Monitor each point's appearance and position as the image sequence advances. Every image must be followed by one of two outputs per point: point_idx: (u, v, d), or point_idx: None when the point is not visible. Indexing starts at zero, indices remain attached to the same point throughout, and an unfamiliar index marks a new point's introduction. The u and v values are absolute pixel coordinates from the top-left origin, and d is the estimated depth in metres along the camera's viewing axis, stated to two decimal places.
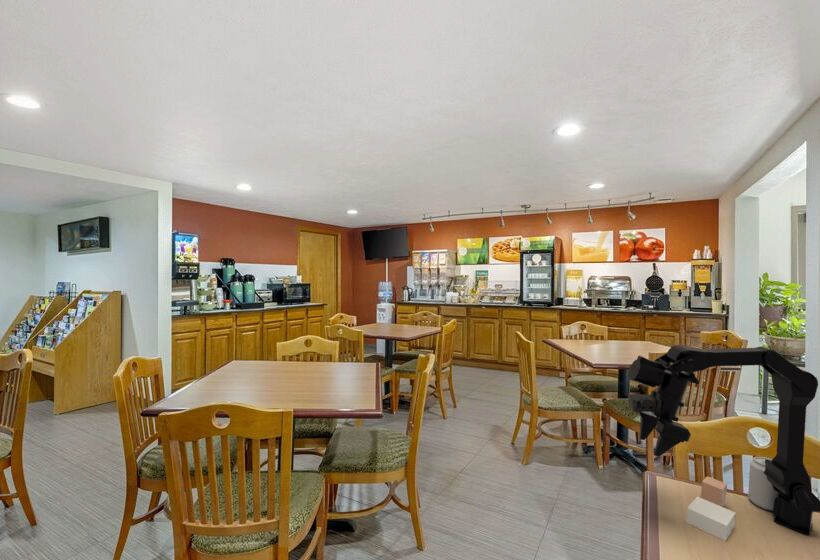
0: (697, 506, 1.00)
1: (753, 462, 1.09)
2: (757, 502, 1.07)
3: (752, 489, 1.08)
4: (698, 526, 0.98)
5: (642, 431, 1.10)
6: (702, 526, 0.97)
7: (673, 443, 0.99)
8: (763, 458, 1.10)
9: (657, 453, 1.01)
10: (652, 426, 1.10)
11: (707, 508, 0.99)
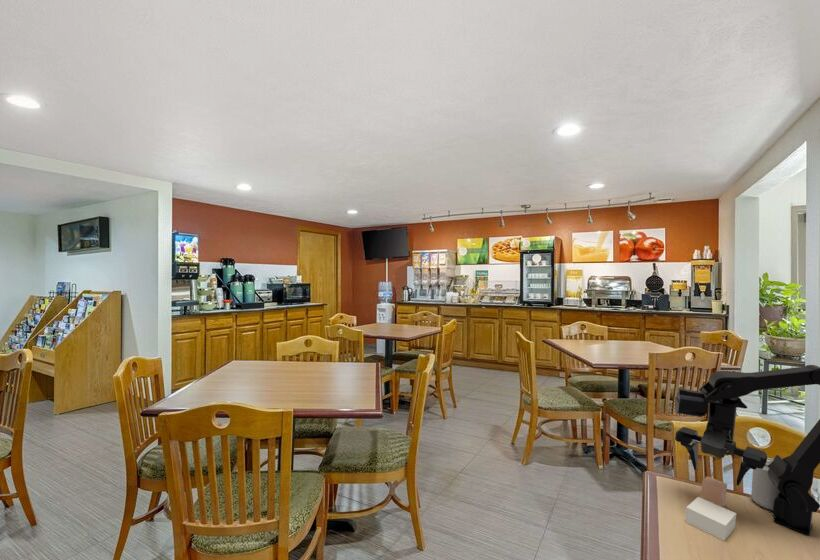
0: (697, 506, 1.00)
1: None
2: (761, 502, 1.07)
3: (756, 489, 1.08)
4: (697, 525, 0.98)
5: (695, 462, 1.10)
6: (701, 525, 0.97)
7: None
8: None
9: None
10: (696, 452, 1.11)
11: (707, 508, 0.99)
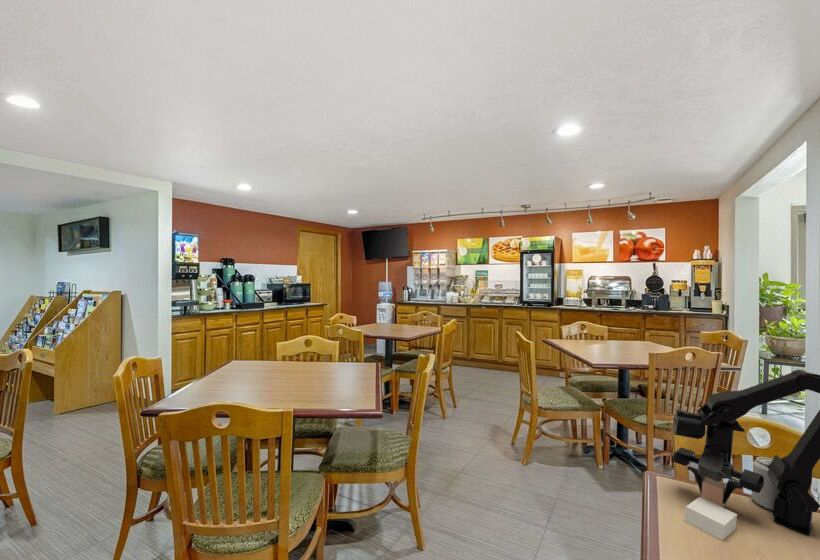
0: (697, 505, 1.00)
1: (756, 462, 1.09)
2: (761, 502, 1.07)
3: None
4: (696, 525, 0.98)
5: None
6: (701, 525, 0.97)
7: None
8: (766, 458, 1.11)
9: (726, 501, 1.05)
10: (703, 477, 1.10)
11: (707, 508, 0.99)
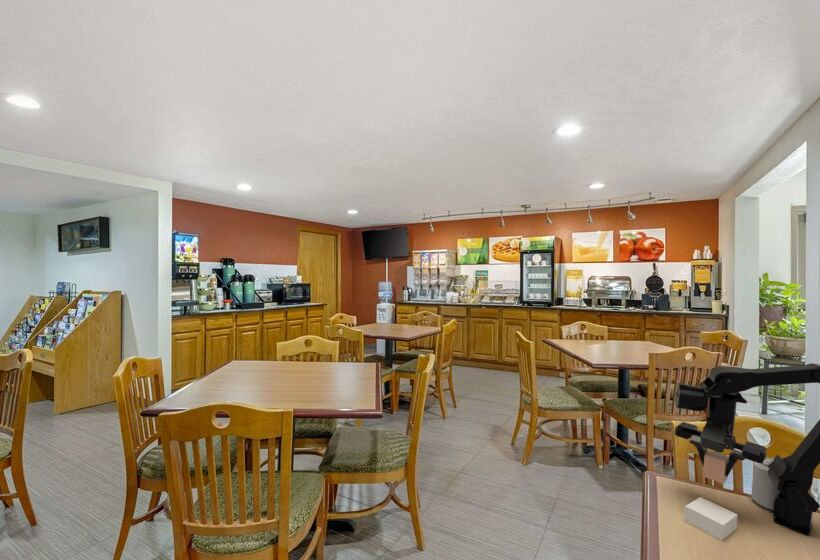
0: (697, 505, 1.01)
1: None
2: (761, 502, 1.07)
3: (756, 489, 1.08)
4: (696, 524, 0.98)
5: None
6: (700, 524, 0.97)
7: None
8: (766, 458, 1.11)
9: None
10: (706, 450, 1.10)
11: (707, 508, 0.99)
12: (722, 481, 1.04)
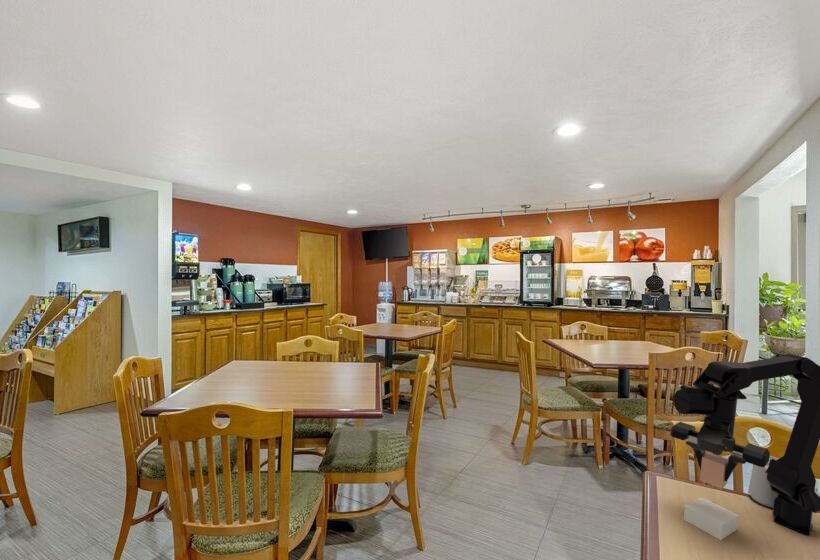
0: (697, 505, 1.01)
1: None
2: (759, 499, 1.08)
3: (755, 486, 1.09)
4: (695, 524, 0.98)
5: None
6: (699, 524, 0.98)
7: None
8: None
9: (728, 478, 0.97)
10: (704, 453, 1.02)
11: (707, 508, 0.99)
12: (721, 486, 0.96)
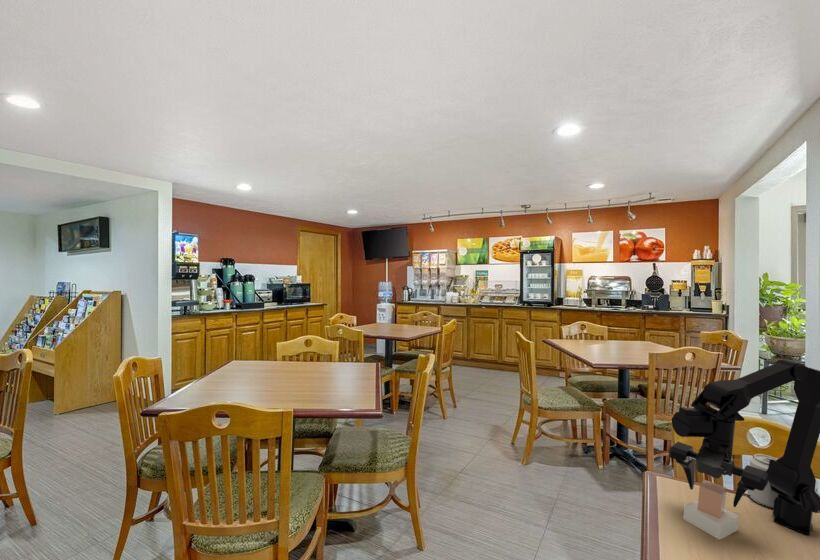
0: (697, 505, 1.01)
1: (754, 460, 1.10)
2: (759, 500, 1.08)
3: None
4: (694, 524, 0.99)
5: (692, 481, 1.01)
6: (698, 524, 0.98)
7: None
8: (761, 455, 1.12)
9: None
10: (693, 470, 1.03)
11: None
12: (719, 515, 0.96)
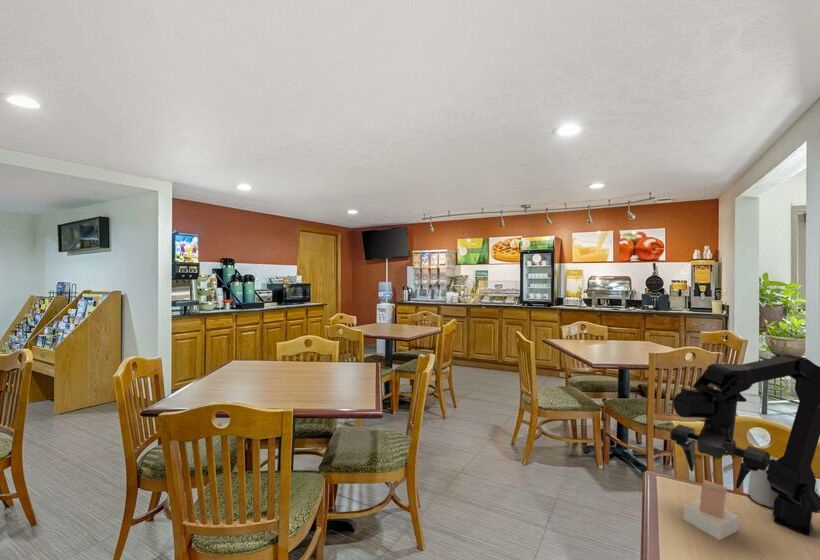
0: (697, 505, 1.01)
1: None
2: (760, 500, 1.08)
3: (755, 488, 1.09)
4: (694, 524, 0.98)
5: (692, 463, 1.01)
6: (698, 524, 0.98)
7: None
8: None
9: None
10: (693, 452, 1.03)
11: None
12: (721, 516, 0.96)
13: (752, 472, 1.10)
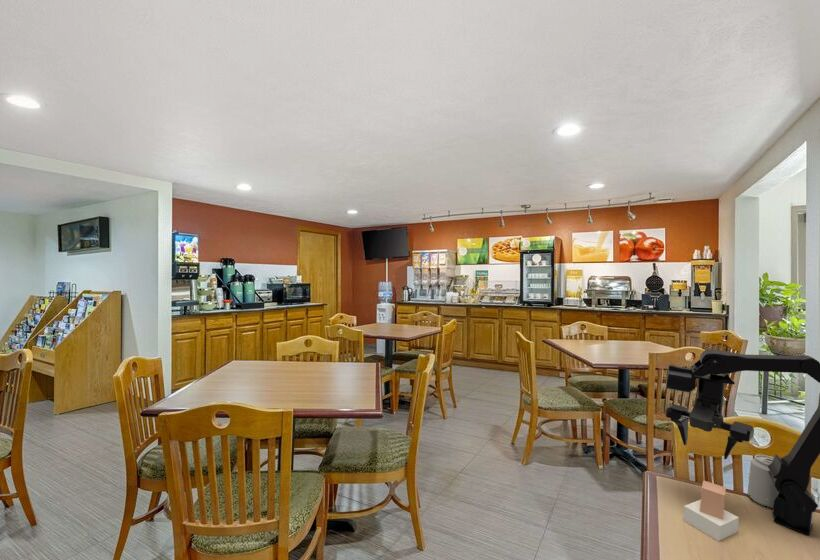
0: (697, 506, 1.00)
1: (755, 461, 1.10)
2: (760, 501, 1.08)
3: (755, 488, 1.09)
4: (694, 525, 0.98)
5: (685, 438, 1.13)
6: (698, 525, 0.97)
7: None
8: (762, 456, 1.11)
9: (727, 456, 1.06)
10: (686, 428, 1.14)
11: None
12: (721, 516, 0.96)
13: (751, 472, 1.10)
